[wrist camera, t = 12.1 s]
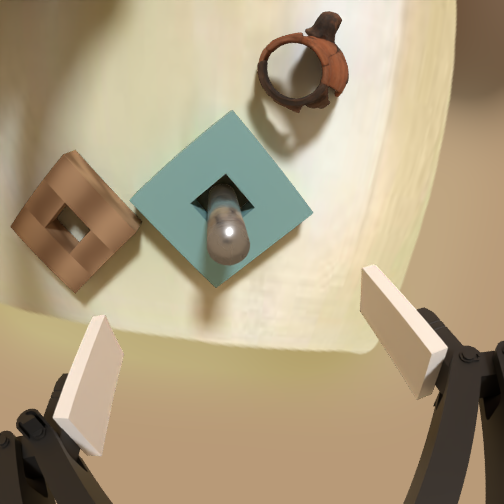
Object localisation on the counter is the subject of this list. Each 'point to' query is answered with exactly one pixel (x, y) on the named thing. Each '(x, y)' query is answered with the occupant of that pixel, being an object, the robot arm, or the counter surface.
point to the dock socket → (206, 174)
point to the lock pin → (226, 227)
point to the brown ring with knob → (330, 58)
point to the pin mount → (87, 209)
